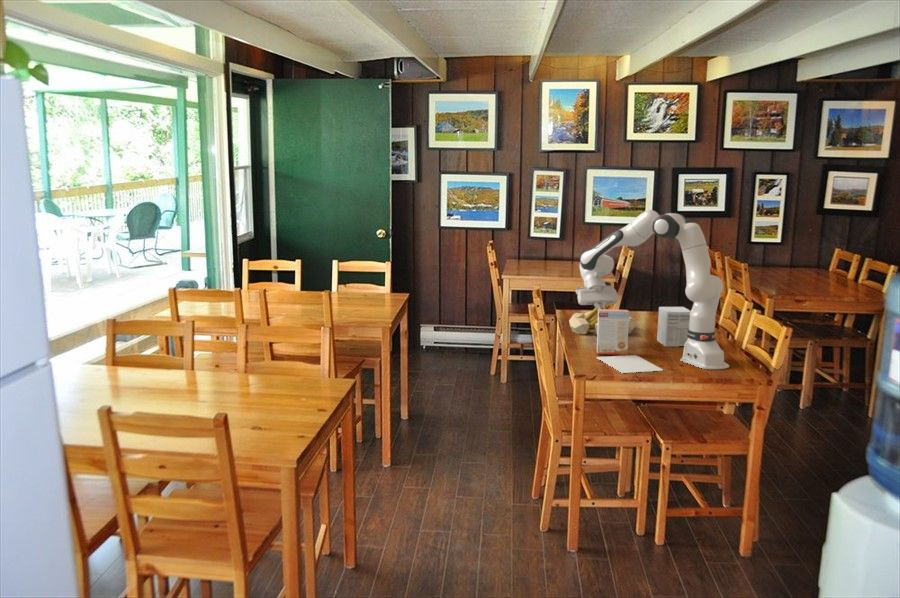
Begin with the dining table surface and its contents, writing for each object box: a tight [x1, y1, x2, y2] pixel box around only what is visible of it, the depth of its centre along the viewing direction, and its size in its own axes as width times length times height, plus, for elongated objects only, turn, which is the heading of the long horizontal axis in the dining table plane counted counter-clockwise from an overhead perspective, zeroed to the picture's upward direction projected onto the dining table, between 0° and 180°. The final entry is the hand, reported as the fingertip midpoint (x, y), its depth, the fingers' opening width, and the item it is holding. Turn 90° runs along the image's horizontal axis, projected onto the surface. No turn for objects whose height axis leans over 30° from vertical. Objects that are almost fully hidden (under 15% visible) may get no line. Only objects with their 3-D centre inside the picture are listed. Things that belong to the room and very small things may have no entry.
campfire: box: [568, 304, 635, 335], centre depth 406 cm, size 35×34×17 cm
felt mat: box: [595, 354, 664, 375], centre depth 344 cm, size 26×20×1 cm
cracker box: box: [596, 308, 630, 356], centre depth 359 cm, size 14×6×21 cm, turn 84°
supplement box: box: [656, 306, 691, 347], centre depth 381 cm, size 13×13×18 cm
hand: (601, 310), depth 369 cm, fingers closed
